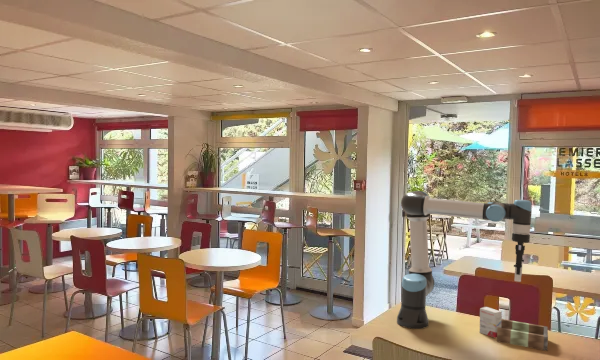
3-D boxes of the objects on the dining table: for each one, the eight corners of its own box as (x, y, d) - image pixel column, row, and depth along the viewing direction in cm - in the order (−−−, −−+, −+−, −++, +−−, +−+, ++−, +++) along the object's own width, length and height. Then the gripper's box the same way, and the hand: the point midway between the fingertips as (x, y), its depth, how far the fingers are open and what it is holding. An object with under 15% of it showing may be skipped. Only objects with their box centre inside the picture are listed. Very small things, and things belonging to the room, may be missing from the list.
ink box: (501, 336, 213) (503, 311, 213) (495, 338, 211) (496, 313, 210) (485, 330, 221) (486, 306, 220) (478, 332, 218) (479, 307, 218)
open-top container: (496, 341, 207) (497, 328, 207) (499, 331, 221) (499, 318, 221) (547, 350, 198) (547, 337, 198) (546, 339, 212) (547, 326, 211)
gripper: (529, 237, 203) (526, 285, 204) (530, 230, 225) (527, 274, 226) (511, 235, 206) (507, 282, 207) (513, 229, 228) (510, 271, 229)
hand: (518, 278), depth 216 cm, fingers open, 13 cm apart
